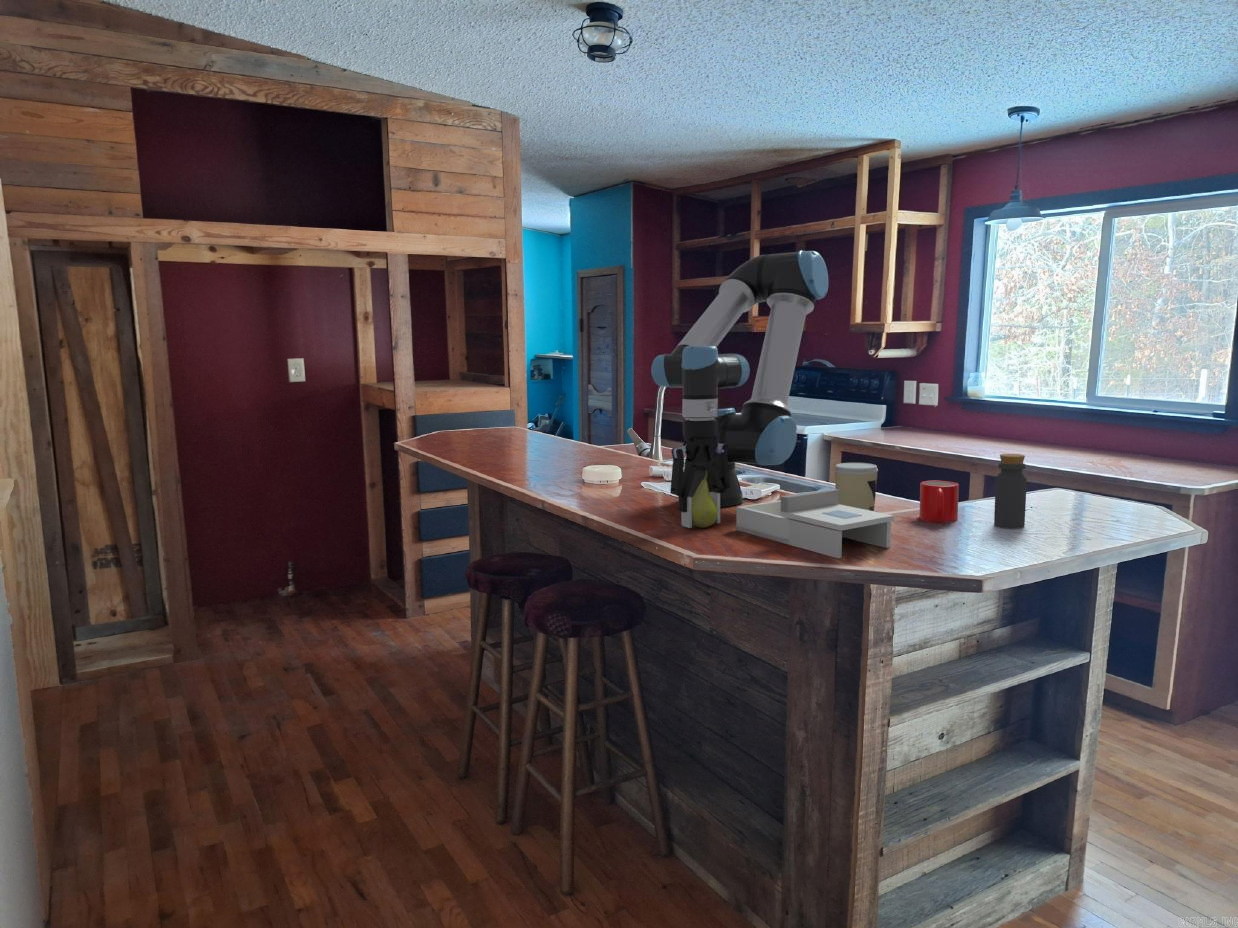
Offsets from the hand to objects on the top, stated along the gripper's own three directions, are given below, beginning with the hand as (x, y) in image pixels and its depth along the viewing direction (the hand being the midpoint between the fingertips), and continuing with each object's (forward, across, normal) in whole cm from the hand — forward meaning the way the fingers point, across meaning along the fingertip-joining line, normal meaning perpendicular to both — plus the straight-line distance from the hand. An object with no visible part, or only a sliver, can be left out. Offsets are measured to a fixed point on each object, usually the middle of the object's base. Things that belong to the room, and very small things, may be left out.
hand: (700, 524), depth 181 cm
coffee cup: (+1, +32, -14) cm, 35 cm away
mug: (+1, +45, -26) cm, 52 cm away
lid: (-5, +11, -29) cm, 31 cm away
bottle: (+1, +52, -38) cm, 65 cm away
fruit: (+1, 0, 0) cm, 1 cm away
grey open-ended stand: (+1, +11, -21) cm, 24 cm away
